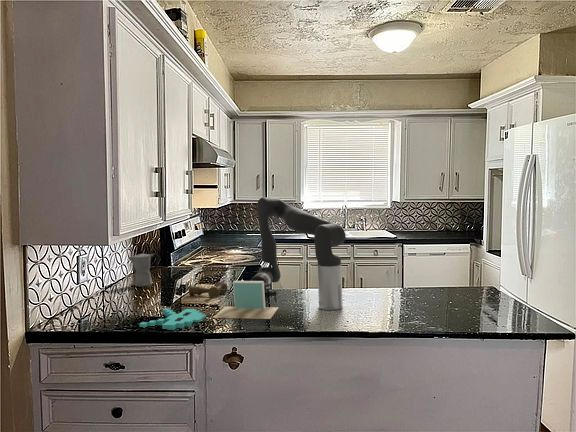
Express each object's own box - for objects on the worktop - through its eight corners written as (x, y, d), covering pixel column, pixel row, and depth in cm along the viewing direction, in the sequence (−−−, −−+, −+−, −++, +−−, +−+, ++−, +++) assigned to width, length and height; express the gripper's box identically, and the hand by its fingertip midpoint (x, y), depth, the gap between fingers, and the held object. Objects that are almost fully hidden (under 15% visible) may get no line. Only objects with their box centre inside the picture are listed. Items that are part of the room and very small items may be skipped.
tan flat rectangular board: (278, 309, 181) (278, 307, 181) (270, 321, 166) (270, 318, 166) (225, 308, 185) (225, 306, 185) (212, 320, 170) (212, 317, 170)
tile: (265, 307, 180) (263, 281, 179) (264, 309, 178) (262, 282, 177) (236, 307, 183) (234, 280, 181) (234, 309, 181) (232, 282, 179)
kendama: (195, 294, 215) (235, 294, 210) (185, 299, 206) (227, 300, 200) (194, 281, 214) (234, 281, 209) (184, 286, 205) (226, 286, 200)
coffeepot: (130, 288, 230) (128, 252, 228) (129, 284, 238) (127, 250, 237) (162, 284, 235) (160, 249, 234) (159, 281, 244) (157, 247, 243)
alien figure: (139, 330, 163) (192, 332, 159) (139, 324, 163) (191, 325, 159) (165, 313, 183) (212, 315, 179) (165, 308, 183) (212, 309, 178)
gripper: (245, 273, 198) (233, 282, 181) (275, 273, 196) (265, 282, 179) (245, 290, 199) (233, 301, 182) (275, 291, 197) (266, 301, 180)
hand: (249, 292), depth 181 cm, fingers closed
